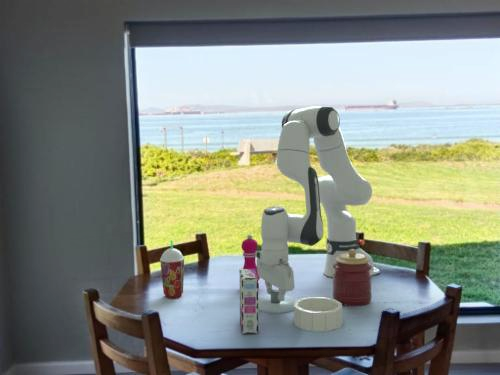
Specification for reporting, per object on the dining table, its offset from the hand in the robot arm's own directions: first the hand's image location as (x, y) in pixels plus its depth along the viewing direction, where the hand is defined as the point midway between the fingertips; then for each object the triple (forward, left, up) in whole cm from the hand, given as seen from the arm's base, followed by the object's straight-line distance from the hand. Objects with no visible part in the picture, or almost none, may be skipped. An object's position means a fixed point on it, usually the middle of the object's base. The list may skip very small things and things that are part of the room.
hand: (275, 297), depth 173 cm
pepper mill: (0, -20, -3) cm, 20 cm away
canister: (-25, +8, -3) cm, 26 cm away
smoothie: (+28, -24, -3) cm, 37 cm away
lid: (0, 0, -3) cm, 3 cm away
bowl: (-4, +20, -2) cm, 21 cm away
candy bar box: (+16, +14, -3) cm, 21 cm away
